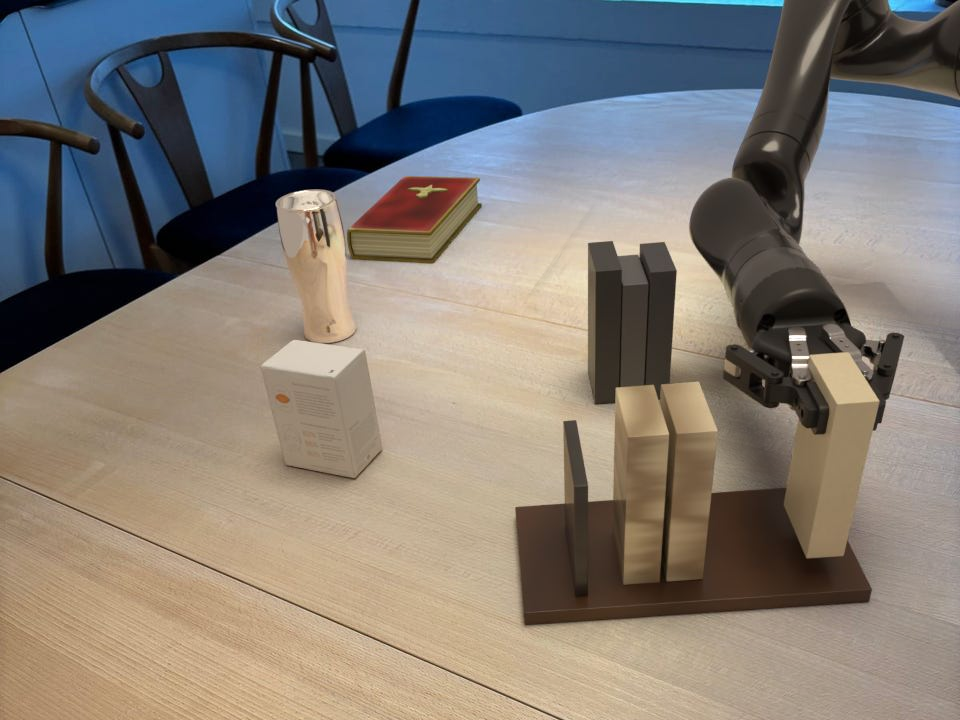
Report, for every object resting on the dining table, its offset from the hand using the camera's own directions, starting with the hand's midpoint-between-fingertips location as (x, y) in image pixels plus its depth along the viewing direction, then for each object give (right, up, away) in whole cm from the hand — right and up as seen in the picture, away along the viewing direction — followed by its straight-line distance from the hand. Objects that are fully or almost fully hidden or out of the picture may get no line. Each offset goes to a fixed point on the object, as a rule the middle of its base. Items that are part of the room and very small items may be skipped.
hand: (848, 420), depth 67 cm
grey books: (-10, +11, +34) cm, 37 cm away
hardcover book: (-34, +42, +70) cm, 89 cm away
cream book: (+1, -6, +9) cm, 11 cm away
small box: (-39, +2, +28) cm, 48 cm away
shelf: (-9, -8, +12) cm, 17 cm away
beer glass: (-43, +21, +48) cm, 68 cm away
